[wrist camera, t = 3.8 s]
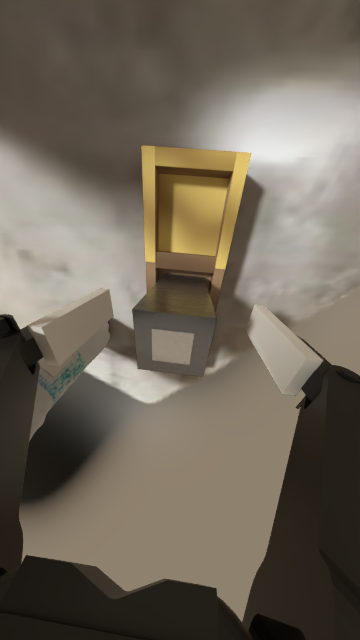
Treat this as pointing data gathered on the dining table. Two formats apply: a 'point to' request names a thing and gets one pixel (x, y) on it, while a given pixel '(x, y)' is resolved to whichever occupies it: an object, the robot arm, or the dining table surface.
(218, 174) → the wooden compartment tray
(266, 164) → the dining table surface
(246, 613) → the robot arm
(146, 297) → the block
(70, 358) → the bottle
